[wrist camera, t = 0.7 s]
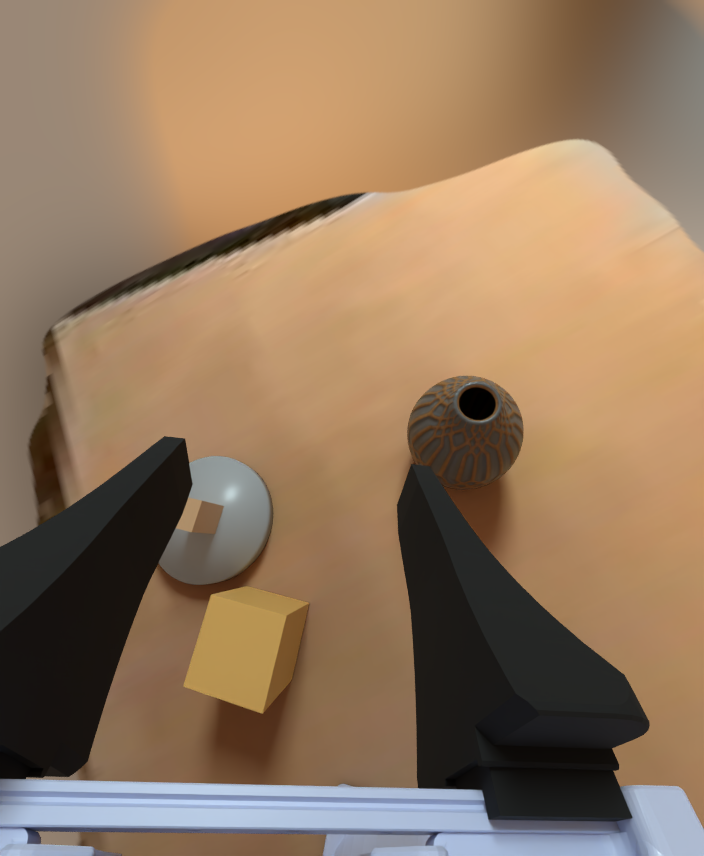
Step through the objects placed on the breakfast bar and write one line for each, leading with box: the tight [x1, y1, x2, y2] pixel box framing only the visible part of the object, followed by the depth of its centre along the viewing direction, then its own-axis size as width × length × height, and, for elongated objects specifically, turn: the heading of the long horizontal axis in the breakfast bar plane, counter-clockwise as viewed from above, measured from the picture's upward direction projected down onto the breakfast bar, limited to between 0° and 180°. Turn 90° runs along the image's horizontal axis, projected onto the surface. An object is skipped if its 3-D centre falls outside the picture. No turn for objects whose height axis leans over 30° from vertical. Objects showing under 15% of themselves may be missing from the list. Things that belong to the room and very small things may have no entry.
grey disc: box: [159, 456, 273, 585], centre depth 25 cm, size 9×9×4 cm
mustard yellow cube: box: [183, 586, 309, 714], centre depth 22 cm, size 5×5×5 cm
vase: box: [407, 376, 523, 490], centre depth 22 cm, size 7×7×9 cm
